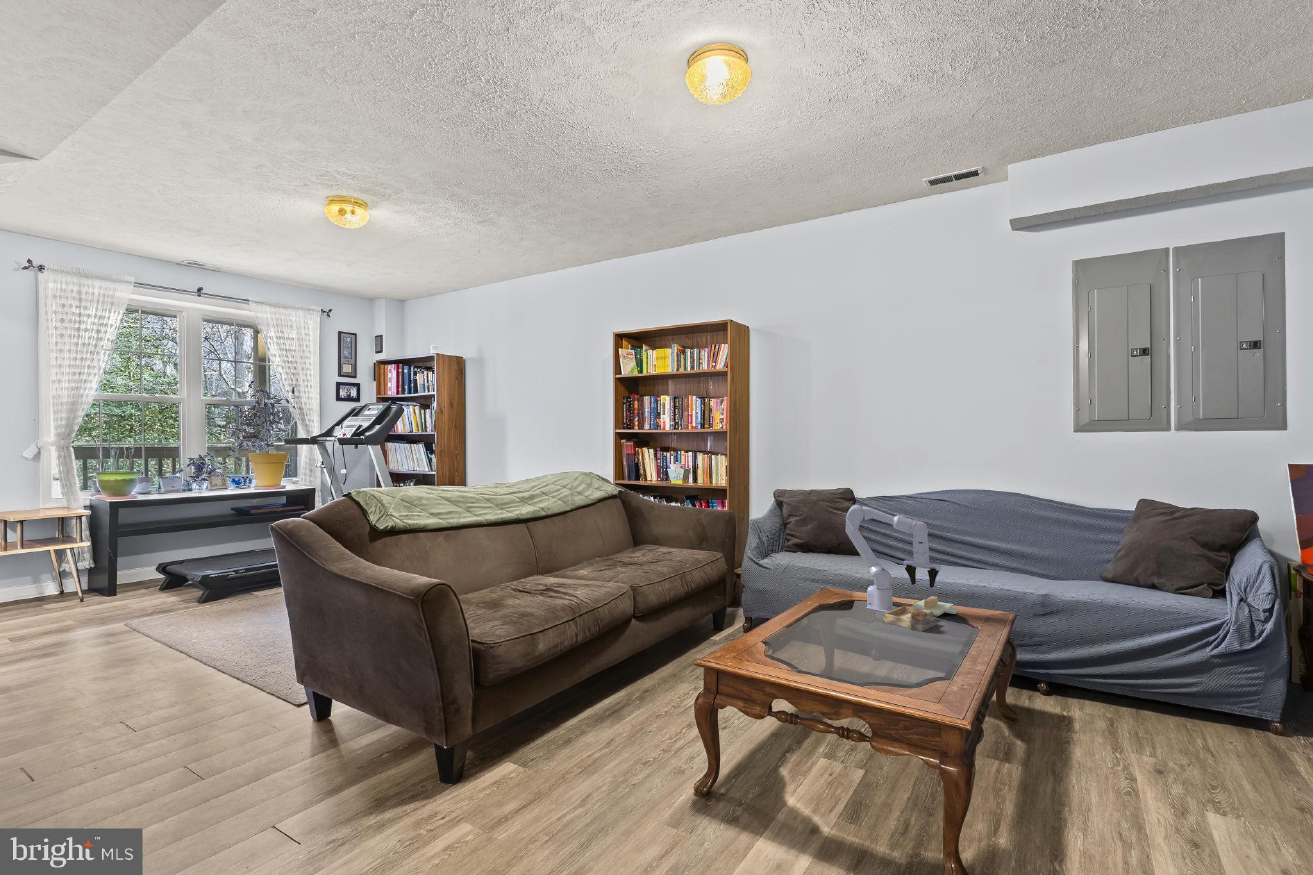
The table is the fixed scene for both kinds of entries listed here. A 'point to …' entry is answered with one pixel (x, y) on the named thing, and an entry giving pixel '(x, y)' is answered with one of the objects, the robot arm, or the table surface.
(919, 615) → the bolt
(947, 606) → the lid
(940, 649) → the table surface
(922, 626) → the wooden tray
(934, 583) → the robot arm
